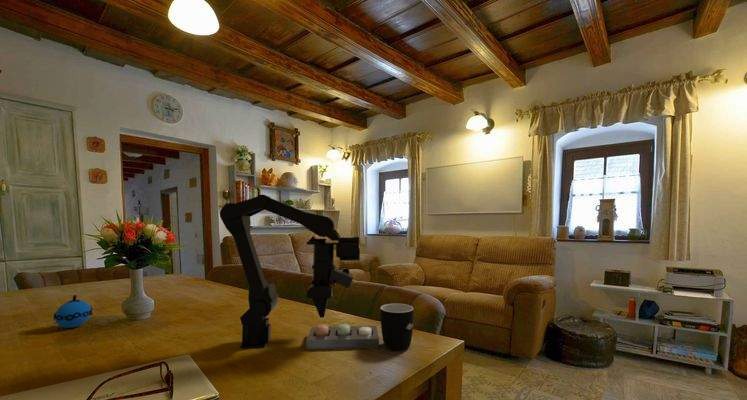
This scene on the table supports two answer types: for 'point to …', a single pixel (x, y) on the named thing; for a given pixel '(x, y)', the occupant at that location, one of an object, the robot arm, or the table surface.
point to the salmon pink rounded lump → (321, 330)
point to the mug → (397, 326)
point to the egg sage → (343, 329)
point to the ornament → (72, 313)
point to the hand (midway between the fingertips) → (322, 317)
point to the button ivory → (365, 331)
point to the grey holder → (343, 339)
